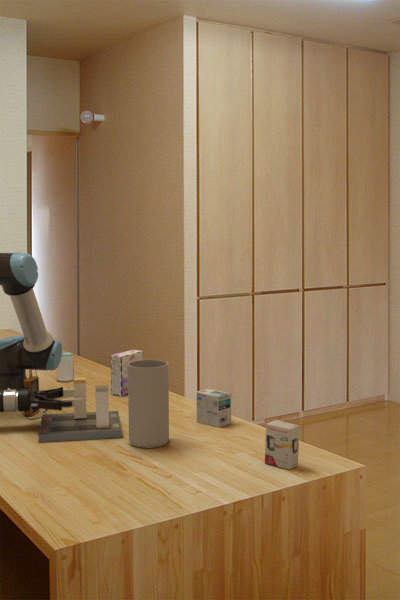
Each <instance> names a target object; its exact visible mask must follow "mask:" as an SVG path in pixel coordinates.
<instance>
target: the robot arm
mask: <svg viewBox="0 0 400 600" xmlns="http://www.w3.org/2000/svg"><path fill="white" fill-rule="evenodd" d="M38 271H39V267H38V265H37V261H36V259H35V258H34V257H33V256H32V255H31V254H29V253H26V252H20V251H19V252H18V251H17V252H0V286H1V288H2V290H3V292H4V295H7V296H10V297H9V298H10V300H11V303H12V306H13V308H14V311H15V314H16V316H17V320H18V323H19V325H20V328H21V331H22V334H23V335H13V336H7V337H3V338H0V413H16V412H21V413H22V412H23V413H24V412H25V411H30V406H31V408H32V409H35V408H39V409H41V410H46V409H47V410H54V411H59V412H61V411H63V409H68V408H69V409H70V408H71V409H72V408H74V407H82V398H80V399H74V388H70V389H69V388H67V389H65V388H64V387H63V386H61V387H58V388H52V389H51V388H50V389H46V390H39V391H35V392H34V394H30V390H29V389H23V380H25V379H27V378H28V377H27V374H26V373H27V371H26V370H29V371H31V369H32V371H44V372H45V371H46V372H47V371H54V370H57V367H58V366H59V364H60V361H61V357H62V353H63V346H62V342H61V341H60V340H55V339H54V337H53V335H52V333H50V332H48V330H47V328H46V323H45V321H44V319H43V316H42V312H41V309H40V306H39V303H38V300H37V297H36V293H35V291H34V290H35V289H34V288H35V285H36V284H37V281H38V278H39V272H38ZM30 358H34V359H35V360H36V364H35V360H34V359H31V360H30ZM25 361H28V362H29V363H28V362H25ZM30 361H31V364H30ZM24 362H25V363H24ZM23 363H24V367H23ZM29 364H30V368H29ZM22 370H23V375H22ZM62 397H63V398H62ZM58 398H59V399H60V398H62V399H60V400H59V399H58Z"/></svg>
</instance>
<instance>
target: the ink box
mask: <svg viewBox="0 0 400 600" xmlns="http://www.w3.org/2000/svg"><path fill="white" fill-rule="evenodd" d="M300 427H301V426H300V425H298V424H294V423H290V422H286V421H281V420H279V419H275V420H272V421H270V422H268V423H266V424H265V445H264V447H265V448H264V464H268V465H271V466H275V467H279V468H282V469H286V470H291V469H293V468H296V467H298V466H299V453H300V452H299V449H300V448H299V447H300Z"/></svg>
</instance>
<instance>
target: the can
mask: <svg viewBox="0 0 400 600" xmlns="http://www.w3.org/2000/svg"><path fill="white" fill-rule="evenodd" d="M56 371H57V372H56V373H57V375H56V376H57V379H56V380H57V381H58V382H61V383H68V382H69V383H70V382H72V381H74V378H75V371H74V356H73V353H72V352H66V351H65V352H63V351H62V357H61V361H60V364H59V366H58V367H57V369H56Z"/></svg>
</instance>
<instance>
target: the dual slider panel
mask: <svg viewBox="0 0 400 600" xmlns="http://www.w3.org/2000/svg"><path fill="white" fill-rule="evenodd" d="M109 404H110V403H109V385H108V384H107V385H106V384H102V385H95V411H91V412H89V411H86V417H87V418H78V419H74V412H69V413H68V412H67V413H51V414H50V413H48V414H42V415H41V416H42V418H41V421H40V425H39V431H38V443H39V444H40V443H53V442H54V443H55V442H57V443H58V442H71V441H73V442H74V441H88V440H103V439H104V440H107V439H110V440H111V439H122V438H123V427H122V425H121V417H120V415H119V411H118V410H111V411H110V407H109Z"/></svg>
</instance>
